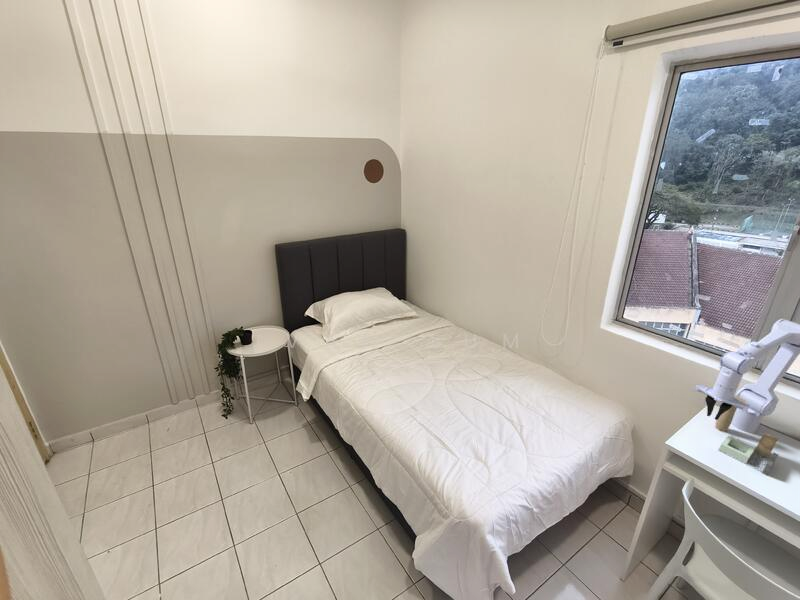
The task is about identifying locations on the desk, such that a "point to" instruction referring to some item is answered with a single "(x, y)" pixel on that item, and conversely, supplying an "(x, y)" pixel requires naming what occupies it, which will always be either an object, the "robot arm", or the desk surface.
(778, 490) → the desk surface
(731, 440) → the collar block
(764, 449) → the dowel
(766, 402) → the robot arm
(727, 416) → the handle
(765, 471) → the board
